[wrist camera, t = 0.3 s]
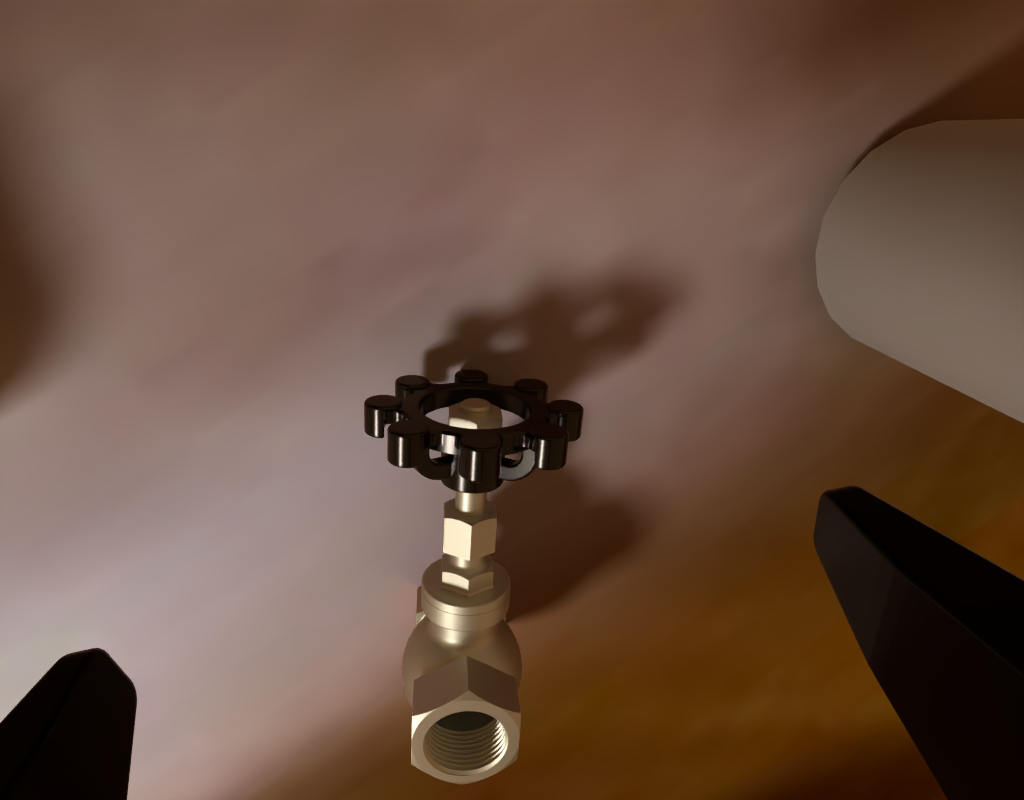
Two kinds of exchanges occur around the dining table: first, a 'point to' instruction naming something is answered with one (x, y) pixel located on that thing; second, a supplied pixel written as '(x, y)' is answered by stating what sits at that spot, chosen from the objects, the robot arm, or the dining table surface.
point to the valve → (468, 561)
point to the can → (935, 256)
